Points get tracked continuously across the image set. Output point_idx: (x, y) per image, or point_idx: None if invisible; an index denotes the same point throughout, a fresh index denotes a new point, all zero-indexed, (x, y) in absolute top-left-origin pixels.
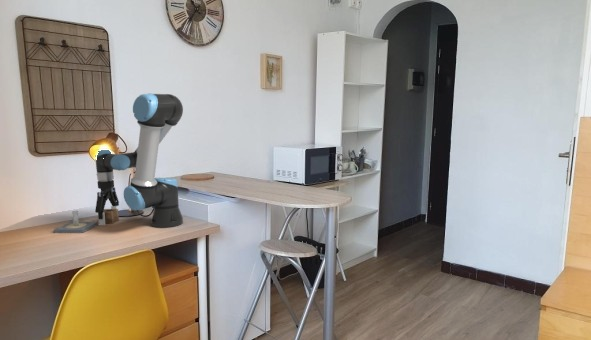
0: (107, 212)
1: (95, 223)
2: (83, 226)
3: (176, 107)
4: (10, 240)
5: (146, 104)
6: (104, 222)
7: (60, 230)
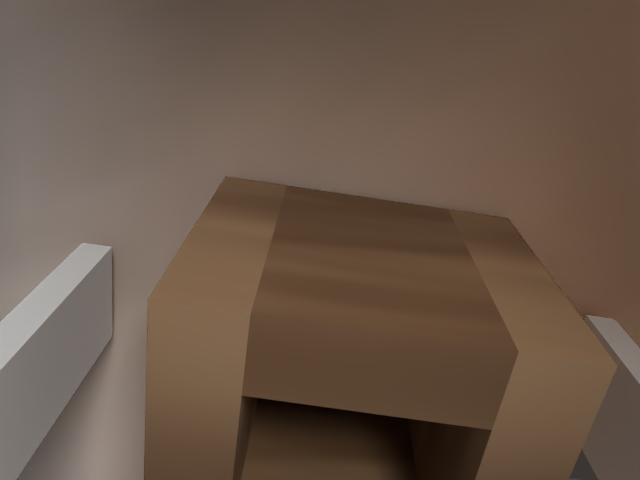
0: (571, 463)
1: (595, 476)
2: None
3: None
4: None
5: None
6: (636, 351)
7: None
